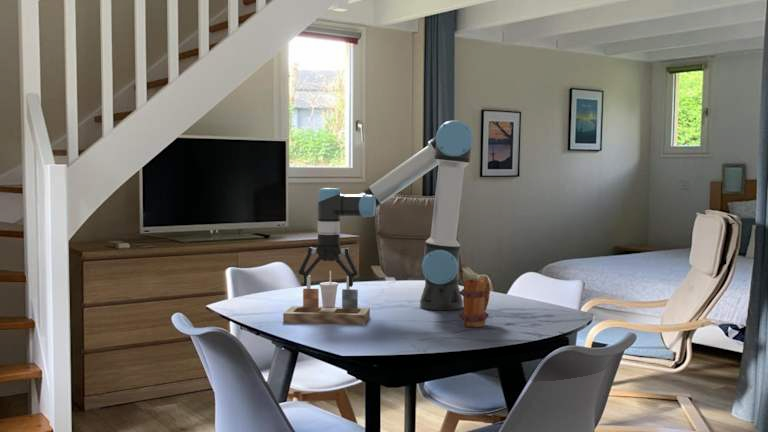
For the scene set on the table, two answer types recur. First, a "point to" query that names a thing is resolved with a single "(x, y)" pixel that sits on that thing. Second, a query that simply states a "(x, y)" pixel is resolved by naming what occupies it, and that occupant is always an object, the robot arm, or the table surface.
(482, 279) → the mug
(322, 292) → the smoothie
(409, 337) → the table surface
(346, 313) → the socket board
